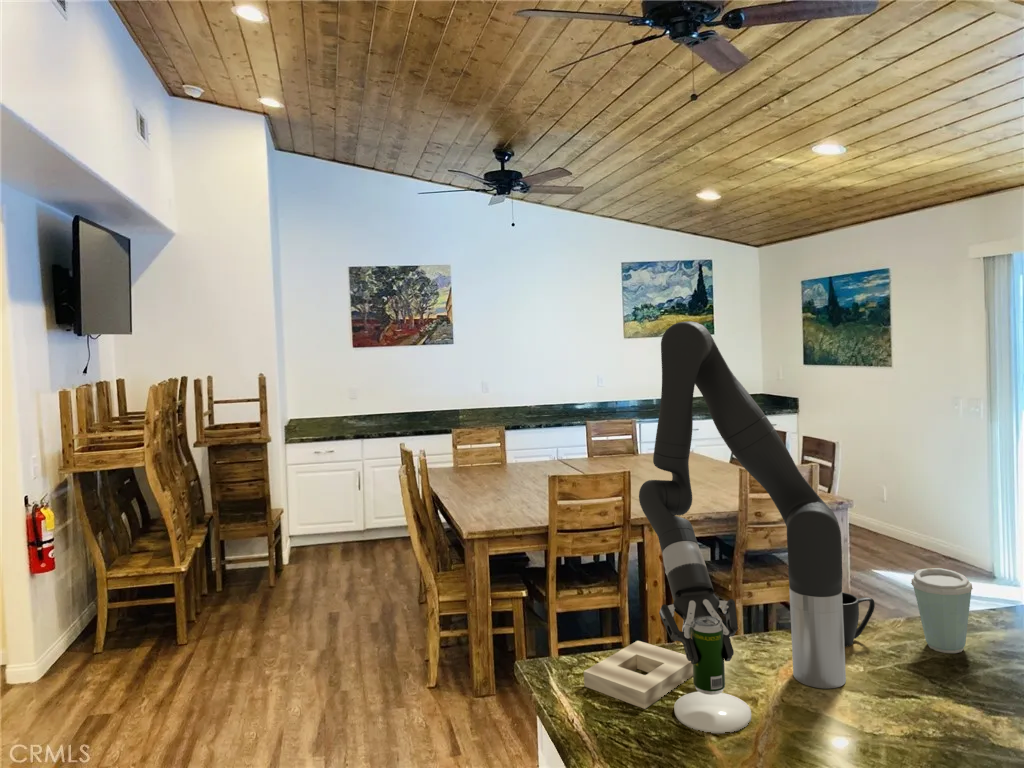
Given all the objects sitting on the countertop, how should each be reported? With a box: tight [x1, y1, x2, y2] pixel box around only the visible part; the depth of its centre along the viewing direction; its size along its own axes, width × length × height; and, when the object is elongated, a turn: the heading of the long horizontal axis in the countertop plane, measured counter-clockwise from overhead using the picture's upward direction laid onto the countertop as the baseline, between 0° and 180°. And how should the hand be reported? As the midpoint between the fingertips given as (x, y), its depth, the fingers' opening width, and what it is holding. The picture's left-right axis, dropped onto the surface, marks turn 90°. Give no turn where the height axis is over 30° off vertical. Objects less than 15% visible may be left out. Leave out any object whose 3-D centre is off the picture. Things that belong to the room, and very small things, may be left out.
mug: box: [842, 591, 876, 647], centre depth 150 cm, size 8×12×10 cm
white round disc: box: [673, 691, 752, 734], centre depth 124 cm, size 13×13×1 cm
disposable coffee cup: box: [910, 567, 974, 654], centre depth 144 cm, size 11×11×15 cm
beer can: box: [691, 616, 726, 695], centre depth 124 cm, size 5×5×12 cm
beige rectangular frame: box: [583, 640, 693, 710], centre depth 138 cm, size 18×14×3 cm
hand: (712, 660), depth 122 cm, fingers closed on beer can, 5 cm apart
